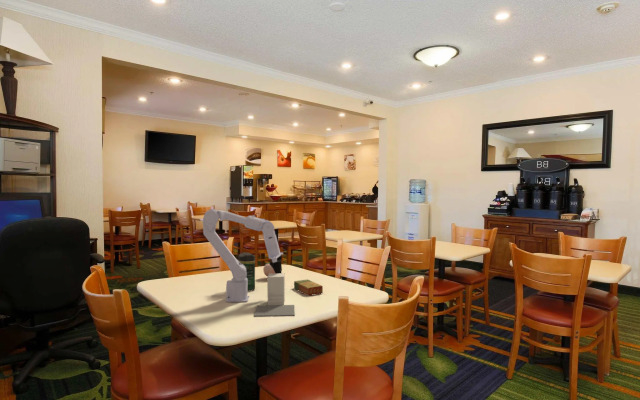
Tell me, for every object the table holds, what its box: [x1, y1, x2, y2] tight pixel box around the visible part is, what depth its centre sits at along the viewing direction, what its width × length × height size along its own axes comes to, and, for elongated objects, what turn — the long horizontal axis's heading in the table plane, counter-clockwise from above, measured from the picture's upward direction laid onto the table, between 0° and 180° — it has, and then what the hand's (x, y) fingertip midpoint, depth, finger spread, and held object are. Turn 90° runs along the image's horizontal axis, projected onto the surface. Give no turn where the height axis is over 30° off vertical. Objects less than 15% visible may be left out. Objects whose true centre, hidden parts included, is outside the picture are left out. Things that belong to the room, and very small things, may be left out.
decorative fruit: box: [263, 260, 275, 278], centre depth 207 cm, size 9×8×10 cm
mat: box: [253, 304, 296, 317], centre depth 150 cm, size 16×13×1 cm
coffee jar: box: [237, 252, 256, 292], centre depth 183 cm, size 10×8×19 cm
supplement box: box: [266, 272, 286, 305], centre depth 161 cm, size 7×7×13 cm
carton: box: [293, 279, 324, 296], centre depth 182 cm, size 8×16×4 cm, turn 29°
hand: (279, 273), depth 169 cm, fingers open, 7 cm apart
